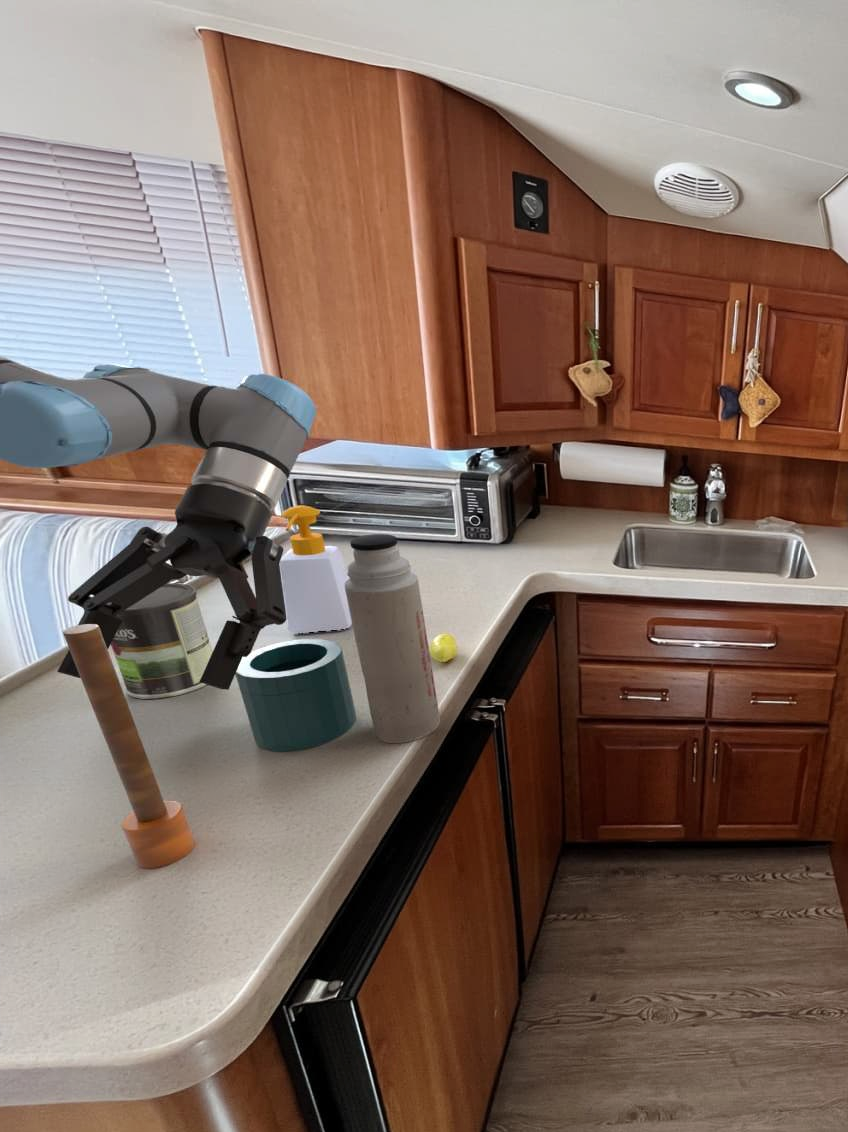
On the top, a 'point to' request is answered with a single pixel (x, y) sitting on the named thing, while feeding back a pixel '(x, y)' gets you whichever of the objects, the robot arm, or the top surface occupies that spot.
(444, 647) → the lemon
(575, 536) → the top surface
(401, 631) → the thermos bottle
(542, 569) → the top surface
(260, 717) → the teal ring pot
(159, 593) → the coffee can
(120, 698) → the wooden peg with base
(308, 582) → the soap bottle
